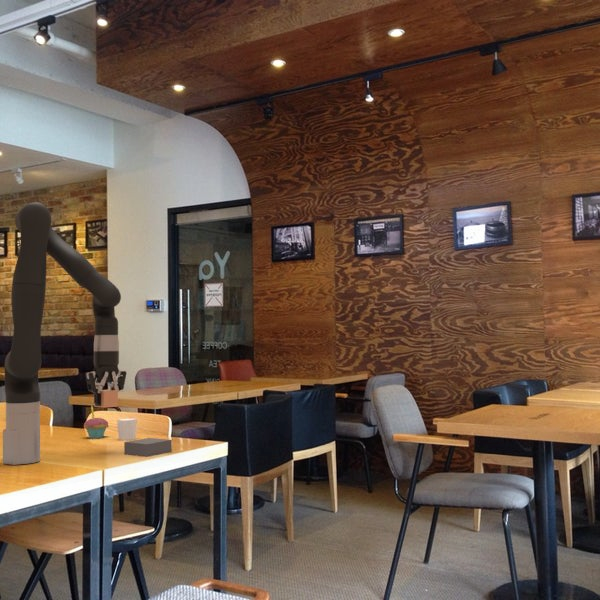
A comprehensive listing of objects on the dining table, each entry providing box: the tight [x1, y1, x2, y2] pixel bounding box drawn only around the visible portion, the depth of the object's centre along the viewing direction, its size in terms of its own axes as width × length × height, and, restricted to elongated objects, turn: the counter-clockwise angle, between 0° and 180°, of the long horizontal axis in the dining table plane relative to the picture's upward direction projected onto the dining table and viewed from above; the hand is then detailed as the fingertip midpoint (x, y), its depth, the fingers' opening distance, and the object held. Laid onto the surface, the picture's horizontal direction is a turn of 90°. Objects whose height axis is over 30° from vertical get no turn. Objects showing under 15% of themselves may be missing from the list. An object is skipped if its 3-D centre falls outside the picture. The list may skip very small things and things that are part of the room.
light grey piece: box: [116, 417, 138, 441], centre depth 243 cm, size 7×7×7 cm
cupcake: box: [83, 404, 109, 440], centre depth 249 cm, size 9×8×12 cm
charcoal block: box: [123, 437, 173, 458], centre depth 211 cm, size 10×10×4 cm
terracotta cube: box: [93, 389, 119, 409], centre depth 213 cm, size 5×5×5 cm
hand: (106, 404), depth 213 cm, fingers closed on terracotta cube, 5 cm apart
